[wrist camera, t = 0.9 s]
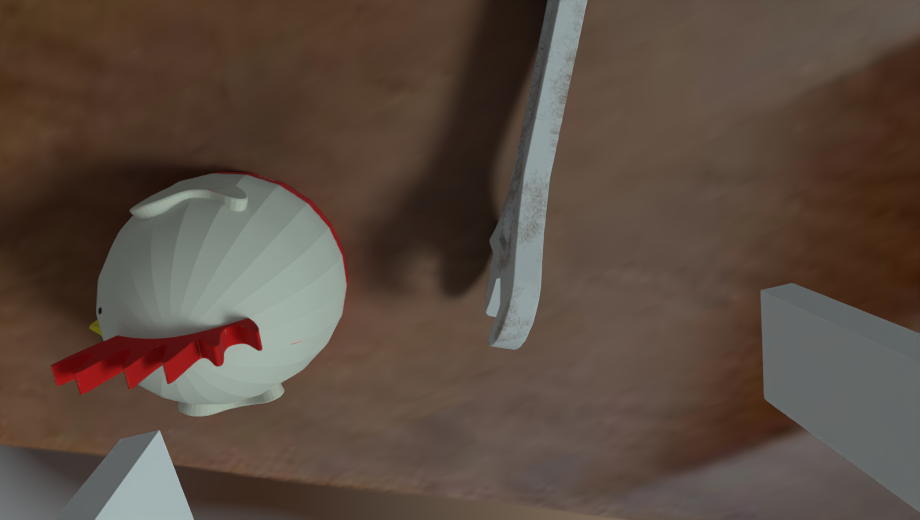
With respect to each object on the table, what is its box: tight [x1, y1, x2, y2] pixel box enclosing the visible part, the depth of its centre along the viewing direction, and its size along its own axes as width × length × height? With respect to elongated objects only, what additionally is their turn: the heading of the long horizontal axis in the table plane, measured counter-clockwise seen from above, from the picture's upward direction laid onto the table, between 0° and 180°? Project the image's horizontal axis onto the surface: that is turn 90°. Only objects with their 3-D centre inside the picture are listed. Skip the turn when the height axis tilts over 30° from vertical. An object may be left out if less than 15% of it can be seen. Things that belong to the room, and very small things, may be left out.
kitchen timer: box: [51, 171, 348, 416], centre depth 29 cm, size 14×14×15 cm
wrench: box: [485, 0, 587, 350], centre depth 33 cm, size 8×2×30 cm
